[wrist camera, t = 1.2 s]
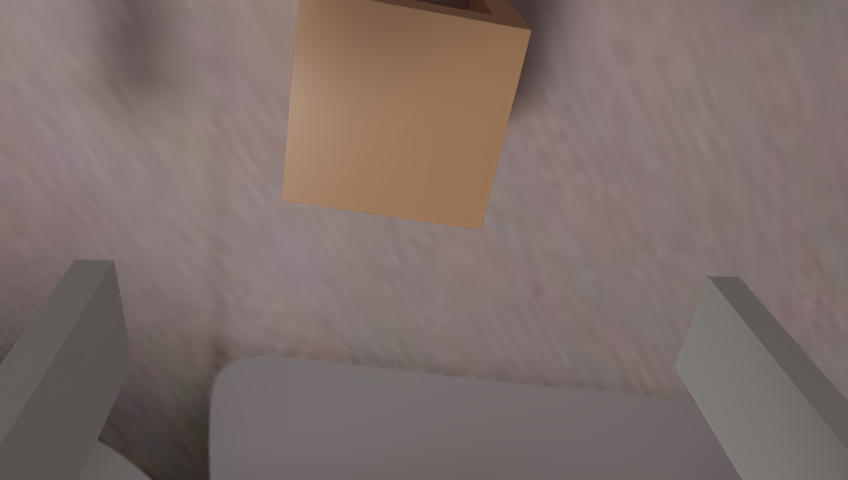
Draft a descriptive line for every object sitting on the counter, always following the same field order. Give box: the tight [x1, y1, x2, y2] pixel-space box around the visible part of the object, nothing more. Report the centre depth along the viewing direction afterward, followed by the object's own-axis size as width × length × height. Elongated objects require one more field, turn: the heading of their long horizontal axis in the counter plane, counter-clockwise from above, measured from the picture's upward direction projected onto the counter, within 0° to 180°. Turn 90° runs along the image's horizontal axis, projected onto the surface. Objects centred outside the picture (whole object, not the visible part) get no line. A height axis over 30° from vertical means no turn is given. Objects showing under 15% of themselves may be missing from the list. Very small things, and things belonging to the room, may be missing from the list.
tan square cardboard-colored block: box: [282, 0, 532, 230], centre depth 28 cm, size 8×8×10 cm
